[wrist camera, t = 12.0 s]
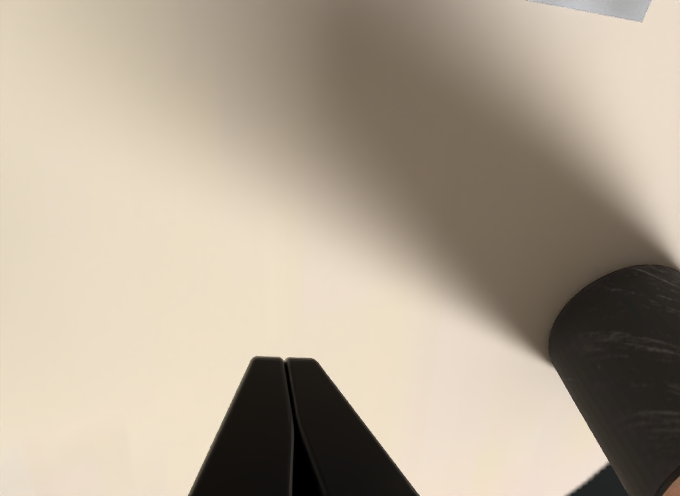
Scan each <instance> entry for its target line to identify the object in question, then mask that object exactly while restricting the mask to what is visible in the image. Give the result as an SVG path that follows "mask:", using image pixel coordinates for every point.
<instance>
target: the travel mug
mask: <svg viewBox="0 0 680 496" xmlns="http://www.w3.org/2000/svg"><path fill="white" fill-rule="evenodd" d="M549 353H550V357H551V360H552V363H553V365H554V367H555V369H556V370H557V372H558V374H559V376H560V378H561V379H562V381H563V383H564V385H565V387H566V388H567V390H568V392H569V394H570V395H571V397H572V399H573V401H574V402H575V404H576V406H577V407H578V409H579V411H580V413H581V414H582V416H583V418H584V419H585V421H586V423H587V425H588V426H589V428H590V430H591V431H592V433H593V435H594V437H595V438H596V440H597V442H598V443H599V445H600V447H601V449H602V450H603V452H604V454H605V455H606V457H607V459H608V461H609V462H610V464H611V466H612V467H613V469H614V471H615V472H616V474H617V476H618V478H619V480H620V481H621V483H622V485H623V486H624V488H625V490H626V491H627V493H628V495H629V496H680V272H678V271H676V270H674V269H671V268H668V267H664V266H658V265H641V266H634V267H629V268H625V269H622V270H619V271H616V272H613V273H611V274H609V275H606V276H604V277H602V278H600V279H599V280H597V281H595V282H593V283H592V284H590V285H589V286H587V287H586V288H585V289H583V290H582V291H581V292H580V293H578V294H577V295H576V296H575V297H574V298H573V299H572V300H571V301H570V302H569V303H568V304H567V305H566V307H565V308H564V309H563V310H562V312H561V313H560V315H559V316H558V318H557V320H556V321H555V323H554V326H553V328H552V331H551V334H550V338H549Z"/></svg>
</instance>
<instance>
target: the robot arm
mask: <svg viewBox="0 0 680 496" xmlns="http://www.w3.org/2000/svg"><path fill="white" fill-rule="evenodd" d="M188 496H419V494H418V493H417V492H416V490H415V489H414V488H413V486H412V485H411V484H410V482H409V481H408V480H407V479H406V477H405V476H404V475H403V473H402V472H401V471H400V469H399V468H398V467H397V465H396V464H395V463H394V461H393V460H392V459H391V458H390V456H389V455H388V454H387V452H386V451H385V450H384V448H383V447H382V446H381V444H380V443H379V442H378V440H377V439H376V438H375V437H374V435H373V434H372V433H371V431H370V430H369V429H368V427H367V426H366V425H365V423H364V422H363V421H362V419H361V418H360V417H359V416H358V414H357V413H356V412H355V410H354V409H353V408H352V406H351V405H350V404H349V402H348V401H347V400H346V398H345V397H344V396H343V395H342V393H341V392H340V391H339V389H338V388H337V387H336V385H335V384H334V383H333V381H332V380H331V379H330V377H329V376H328V375H327V374H326V372H325V371H324V370H323V368H322V367H321V366H320V364H319V363H318V362H317V361H316V360H315V359H312V358H295V357H289V358H287V359H285V360H284V361H283V359H282V358H280V357H266V356H255V357H253V358H252V359H251V361H250V363H249V365H248V367H247V370H246V372H245V374H244V376H243V378H242V380H241V382H240V385H239V387H238V389H237V391H236V393H235V395H234V398H233V400H232V402H231V404H230V406H229V408H228V411H227V413H226V415H225V417H224V419H223V421H222V423H221V426H220V428H219V430H218V432H217V434H216V436H215V439H214V441H213V443H212V445H211V447H210V449H209V452H208V454H207V456H206V458H205V460H204V462H203V464H202V467H201V469H200V471H199V473H198V475H197V477H196V480H195V482H194V484H193V486H192V488H191V490H190V493H189V495H188Z"/></svg>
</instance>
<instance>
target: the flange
mask: <svg viewBox="0 0 680 496" xmlns="http://www.w3.org/2000/svg"><path fill="white" fill-rule="evenodd" d="M527 1H532V2H537V3H542V4H548V5H553V6H558V7H564V8H569V9H574V10H579V11H585V12H590V13H595V14H601V15H606V16H611V17H616V18H622V19H627V20H632V21H638V22H642V21H643V19H644V17H645V14H646V12H647V10H648V7H649V5H650V3H651V0H527Z"/></svg>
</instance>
